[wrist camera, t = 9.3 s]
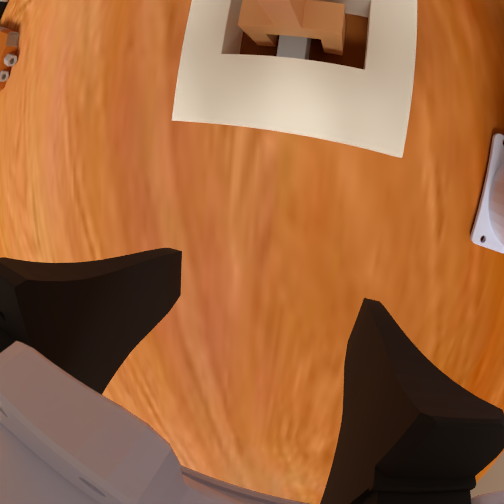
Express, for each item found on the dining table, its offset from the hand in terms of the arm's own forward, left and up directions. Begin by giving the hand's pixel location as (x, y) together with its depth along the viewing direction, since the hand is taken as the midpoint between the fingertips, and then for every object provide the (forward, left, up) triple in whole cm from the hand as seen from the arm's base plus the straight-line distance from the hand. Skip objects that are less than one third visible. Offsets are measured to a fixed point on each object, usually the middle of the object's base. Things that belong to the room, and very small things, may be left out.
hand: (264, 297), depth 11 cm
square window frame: (+2, -13, -10) cm, 17 cm away
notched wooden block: (+2, -13, -10) cm, 17 cm away
